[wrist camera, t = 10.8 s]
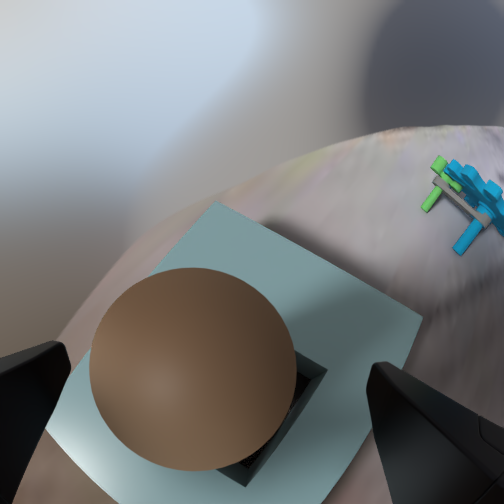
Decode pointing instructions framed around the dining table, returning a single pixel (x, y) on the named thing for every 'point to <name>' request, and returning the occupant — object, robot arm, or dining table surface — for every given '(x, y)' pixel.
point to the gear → (468, 198)
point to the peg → (192, 369)
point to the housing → (307, 362)
